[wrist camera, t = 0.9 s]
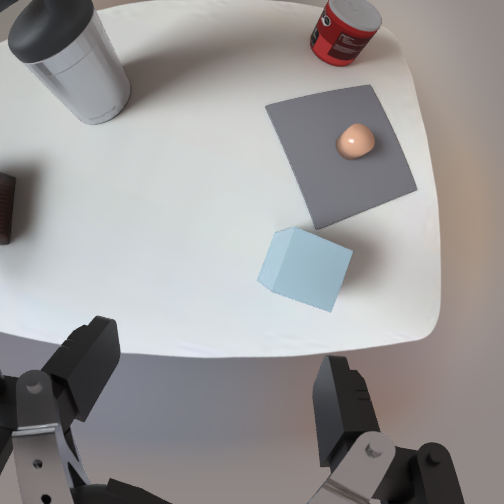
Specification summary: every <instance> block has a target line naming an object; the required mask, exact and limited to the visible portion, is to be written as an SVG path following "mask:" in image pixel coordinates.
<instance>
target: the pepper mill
mask: <svg viewBox="0 0 504 504" xmlns="http://www.w3.org/2000/svg"><path fill="white" fill-rule="evenodd" d="M15 179H16V178H15V177H12V176H9V175H6V174H3V173H0V245H7V244H9V240H10V234H11V221H12V210H13V199H14V188H15Z"/></svg>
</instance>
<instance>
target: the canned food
mask: <svg viewBox="0 0 504 504" xmlns="http://www.w3.org/2000/svg"><path fill="white" fill-rule="evenodd" d="M381 24H382V18H381V16H380V14H379V12H378V11H377V10H376V8H375V7H374V6H372V4H370V3H369V2H368V1H366V0H328V2H327V4H326V6H325V8H324V10H323V12H322V14H321V16H320V18H319V20H318V22H317V24H316V26H315V28H314V31H313V33H312V35H311V38H310V45H311V49H312V51H313V52H314V53H315V55H316V56H317V57H318V58H320V59H321V60H322V61H324V62H326V63H328V64H330V65H333V66H346V65H348V64H350V63H352V62H353V61H354V59H355V58H356V57H357V56H358V54H359V53H360V52H361V51H362V49H363V48H364V47H365V46H366V44H367V43H368V42H369V41H370V39H371V38H372V37H373V36H374V34H375V33H376V32H377V30H378V29H379V28H380V26H381Z"/></svg>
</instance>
